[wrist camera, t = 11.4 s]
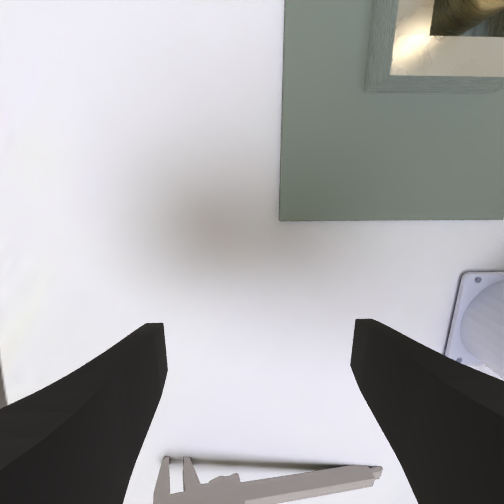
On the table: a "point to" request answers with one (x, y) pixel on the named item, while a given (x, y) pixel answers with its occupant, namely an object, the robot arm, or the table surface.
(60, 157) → the table surface
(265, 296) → the table surface
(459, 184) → the mat
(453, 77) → the silver square socket
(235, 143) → the table surface
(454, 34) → the pin
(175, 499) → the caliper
